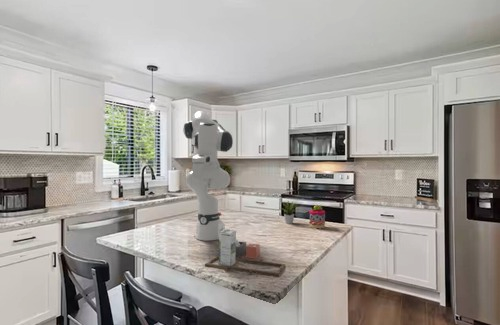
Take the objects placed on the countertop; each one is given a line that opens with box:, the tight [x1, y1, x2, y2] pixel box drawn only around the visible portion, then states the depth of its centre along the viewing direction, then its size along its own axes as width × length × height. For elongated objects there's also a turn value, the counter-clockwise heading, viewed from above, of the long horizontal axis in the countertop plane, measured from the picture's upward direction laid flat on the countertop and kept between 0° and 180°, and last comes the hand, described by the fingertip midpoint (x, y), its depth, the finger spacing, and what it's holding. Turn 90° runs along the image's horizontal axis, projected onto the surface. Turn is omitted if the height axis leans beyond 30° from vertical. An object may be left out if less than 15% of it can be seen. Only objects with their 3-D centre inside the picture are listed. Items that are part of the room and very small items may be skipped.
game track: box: [204, 254, 286, 278], centre depth 119 cm, size 15×32×1 cm, turn 70°
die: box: [245, 243, 261, 259], centre depth 132 cm, size 5×5×6 cm
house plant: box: [280, 200, 300, 225], centre depth 200 cm, size 14×14×16 cm
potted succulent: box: [308, 205, 326, 229], centre depth 189 cm, size 10×11×15 cm
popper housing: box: [236, 240, 247, 258], centre depth 136 cm, size 9×9×4 cm
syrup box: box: [218, 228, 237, 267], centre depth 121 cm, size 6×6×14 cm
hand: (207, 188), depth 129 cm, fingers closed
